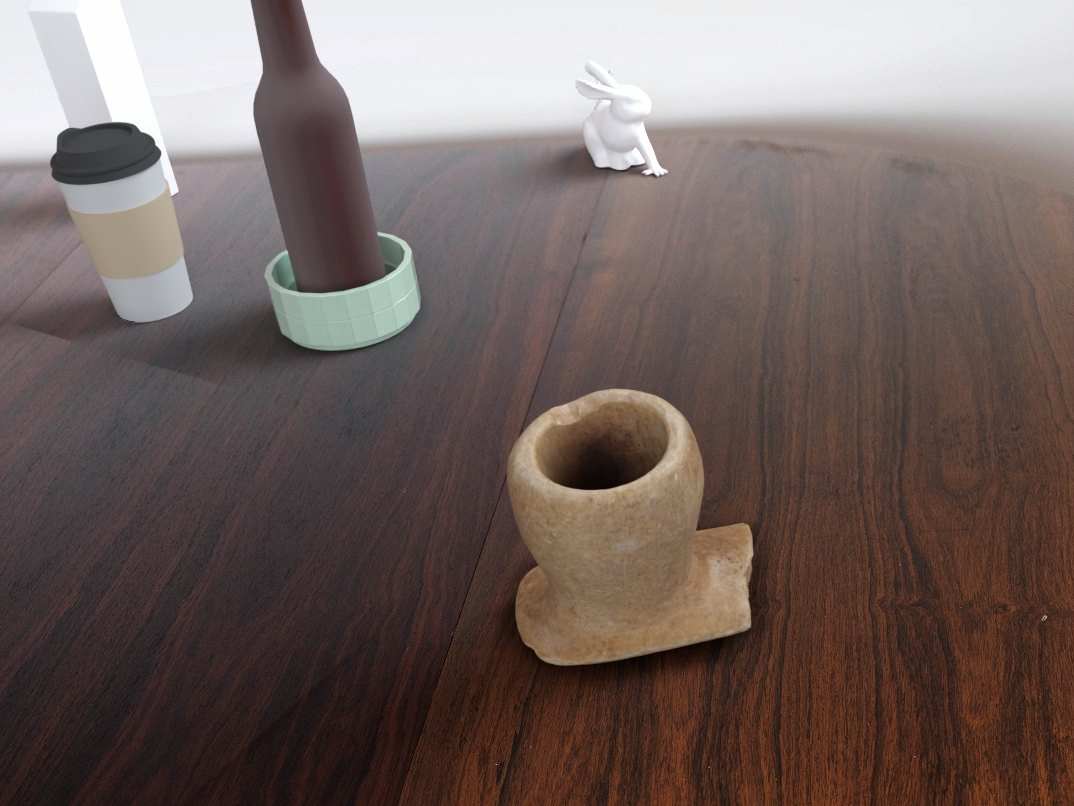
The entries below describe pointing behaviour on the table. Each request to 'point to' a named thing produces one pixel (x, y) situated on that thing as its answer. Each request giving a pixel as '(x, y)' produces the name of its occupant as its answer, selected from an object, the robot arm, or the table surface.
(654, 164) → the rabbit figurine
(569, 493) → the stone cup
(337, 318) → the bowl
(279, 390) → the table surface
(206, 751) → the table surface
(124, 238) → the coffee cup
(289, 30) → the beer bottle
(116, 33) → the milk
